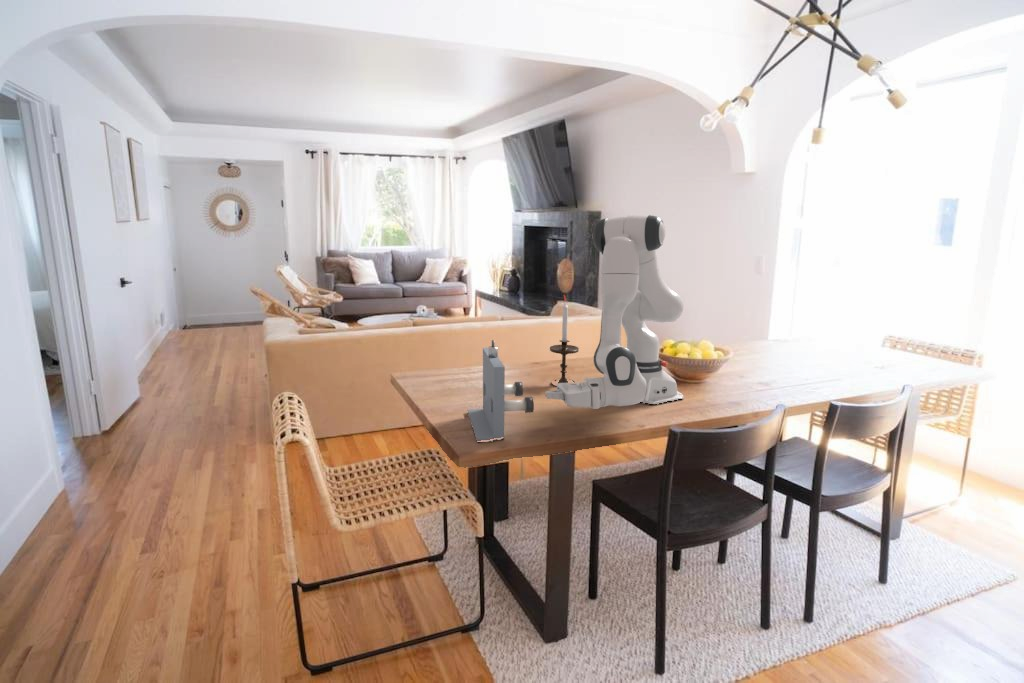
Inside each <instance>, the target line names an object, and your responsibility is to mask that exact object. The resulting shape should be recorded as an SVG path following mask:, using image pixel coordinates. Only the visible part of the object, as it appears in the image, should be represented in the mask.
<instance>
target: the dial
mask: <svg viewBox="0 0 1024 683" xmlns="http://www.w3.org/2000/svg"><path fill="white" fill-rule="evenodd" d="M487 348H488V357H490V358H496V357H499V356H498V355H499V354H498V353H499V352H498V350H499V349H498V348H499V347H498V346H496V345H495V340H494V339H492V340H491V345H490V346H488V347H487Z"/></svg>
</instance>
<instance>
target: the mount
mask: <svg viewBox="0 0 1024 683" xmlns="http://www.w3.org/2000/svg"><path fill="white" fill-rule="evenodd" d="M505 368H506V367H505V365H504V363H503V361H501V359H500V357H499V356H498V357H496V358H490V357H488V347H482V408H475V409H474V408H472V409H471V408H469V409H468V408H467V411H468V413H467V415H468V414H469V416H468V418H469V417H470V419H469V421H470V420H471V422H470V424H471V423H472V425H471V427H472V426H473V429H474V432H475V435H474V437H475V436H476V438H475V440H476V439H477V441H481V440H490V439H494V438H501V437H504V438H505V412H504V401H505V395H504V387H505V385H506V383H505V382H506V380H505ZM473 429H472V430H473ZM474 432H473V433H474ZM477 441H476V442H477Z"/></svg>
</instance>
